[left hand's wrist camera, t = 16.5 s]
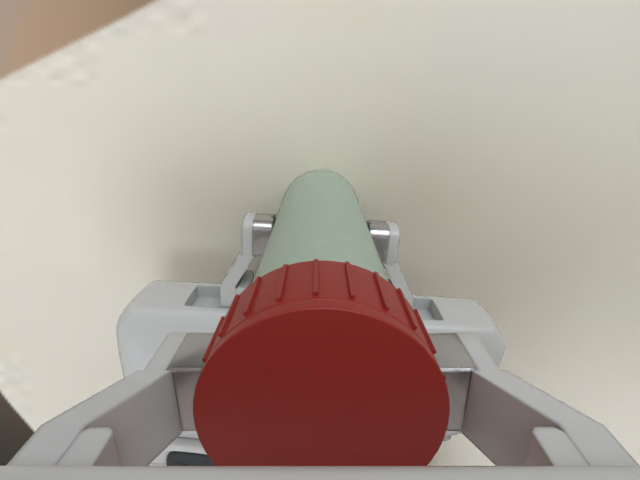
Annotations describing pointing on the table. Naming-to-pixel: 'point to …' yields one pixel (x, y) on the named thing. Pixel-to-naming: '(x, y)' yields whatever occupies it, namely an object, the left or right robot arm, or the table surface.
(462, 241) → the table surface
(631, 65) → the table surface
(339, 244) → the jar
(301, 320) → the lid
